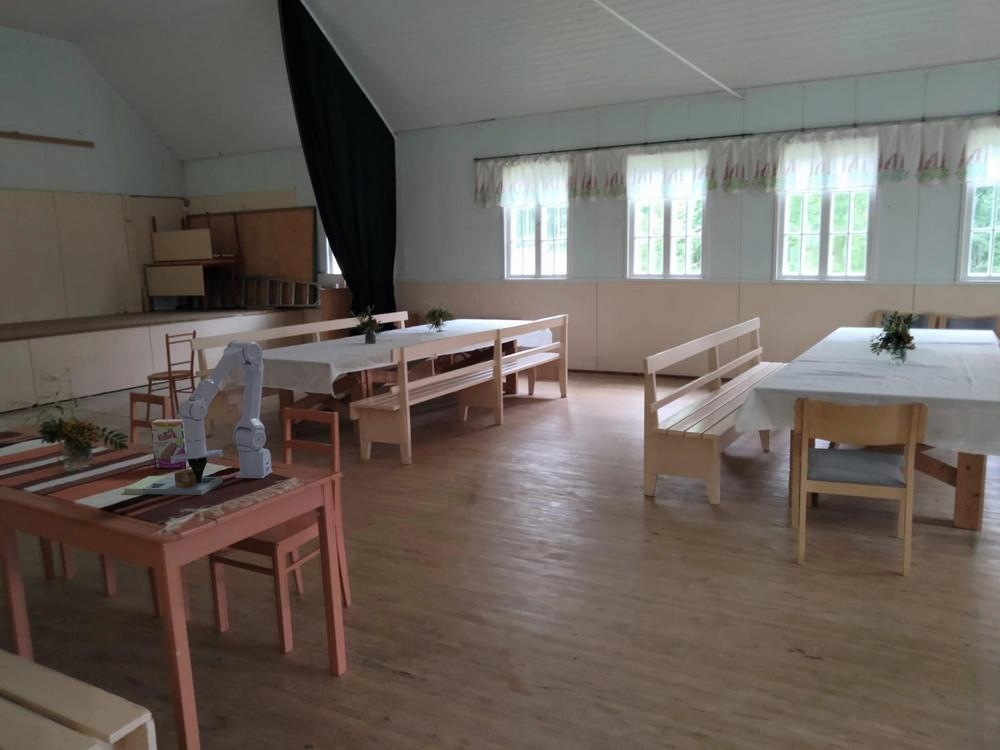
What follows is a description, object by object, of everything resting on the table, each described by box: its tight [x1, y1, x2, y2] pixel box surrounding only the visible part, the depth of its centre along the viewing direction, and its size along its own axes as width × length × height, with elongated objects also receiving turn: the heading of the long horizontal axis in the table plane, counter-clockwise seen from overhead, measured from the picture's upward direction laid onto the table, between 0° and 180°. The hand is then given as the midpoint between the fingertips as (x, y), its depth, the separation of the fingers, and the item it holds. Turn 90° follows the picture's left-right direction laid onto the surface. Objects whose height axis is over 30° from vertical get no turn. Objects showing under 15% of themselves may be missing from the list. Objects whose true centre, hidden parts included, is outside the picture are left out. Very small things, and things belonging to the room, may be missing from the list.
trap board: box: [123, 475, 224, 496], centre depth 231 cm, size 25×13×2 cm, turn 83°
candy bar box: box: [150, 418, 190, 470], centre depth 254 cm, size 11×5×16 cm, turn 89°
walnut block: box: [173, 468, 197, 488], centre depth 228 cm, size 4×4×4 cm
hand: (199, 482), depth 227 cm, fingers closed
